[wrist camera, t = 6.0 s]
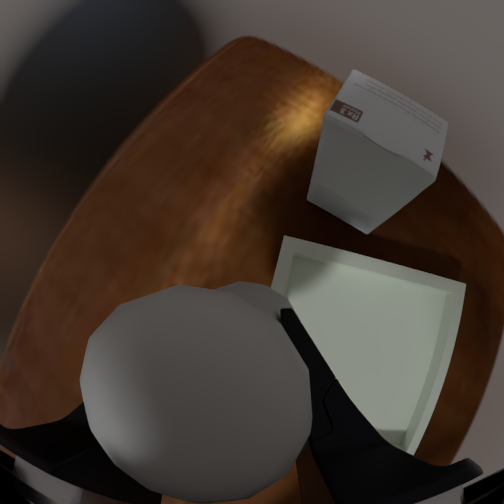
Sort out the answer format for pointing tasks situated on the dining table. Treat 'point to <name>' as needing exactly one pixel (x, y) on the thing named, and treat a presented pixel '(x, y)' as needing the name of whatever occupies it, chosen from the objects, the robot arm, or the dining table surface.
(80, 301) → the dining table surface
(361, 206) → the skincare box
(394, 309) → the tray
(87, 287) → the dining table surface
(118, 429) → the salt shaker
